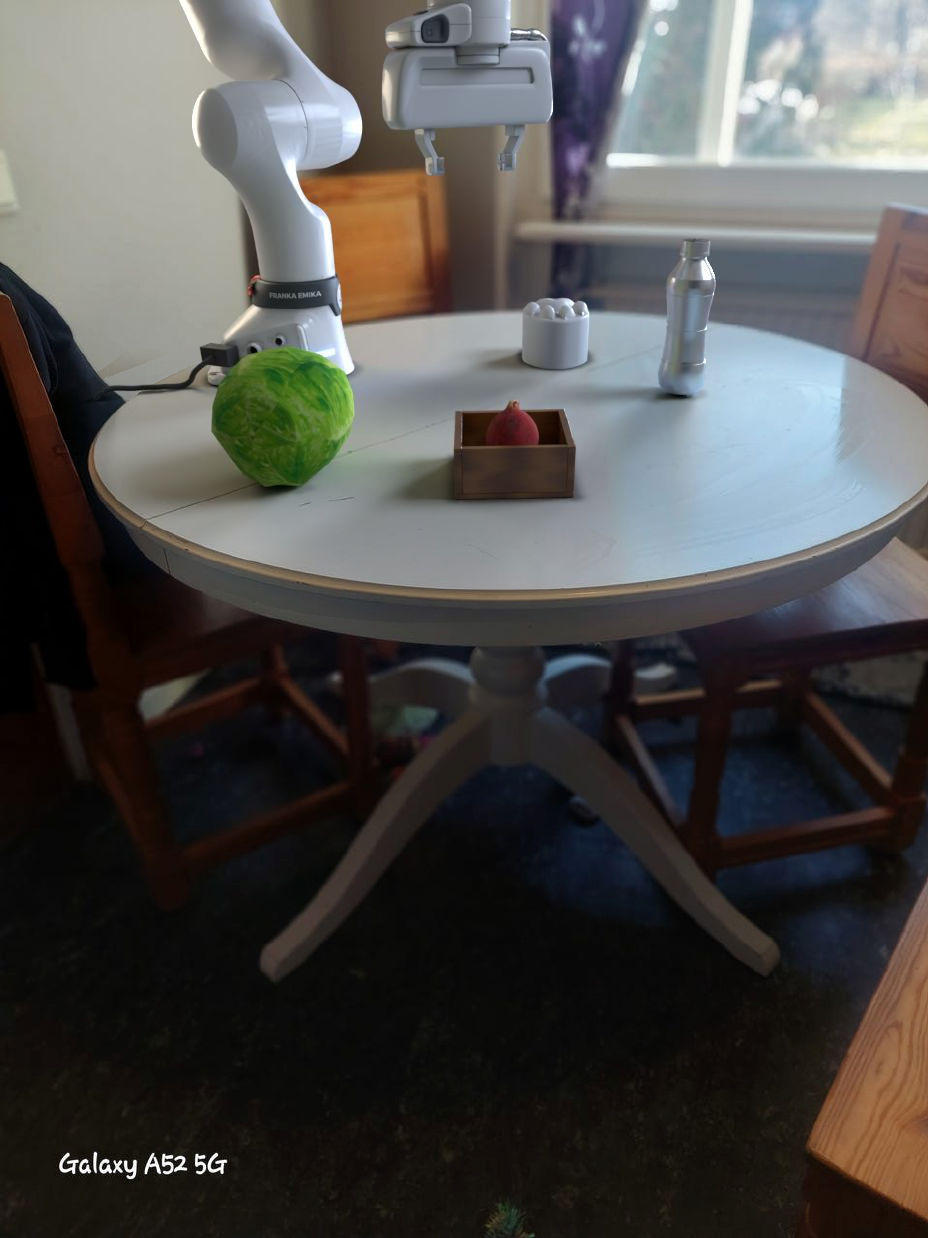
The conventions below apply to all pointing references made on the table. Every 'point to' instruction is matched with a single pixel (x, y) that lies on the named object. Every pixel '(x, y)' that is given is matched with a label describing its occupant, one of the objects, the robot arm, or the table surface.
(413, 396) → the table surface
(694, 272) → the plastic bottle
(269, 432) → the lettuce
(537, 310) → the lumpy-topped squat cylinder
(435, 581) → the table surface
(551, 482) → the brown bin
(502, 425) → the onion
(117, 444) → the table surface
